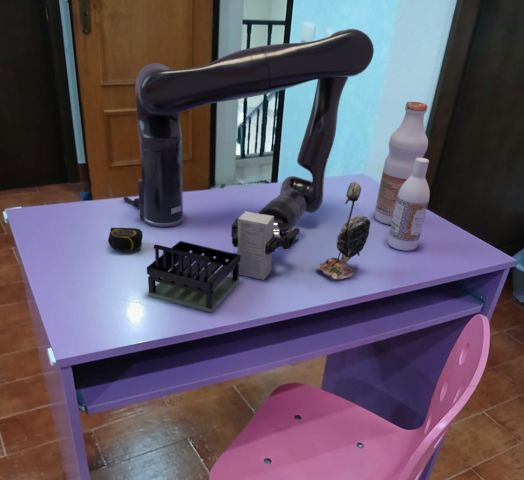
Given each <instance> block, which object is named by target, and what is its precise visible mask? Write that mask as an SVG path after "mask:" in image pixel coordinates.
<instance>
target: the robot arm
mask: <svg viewBox="0 0 524 480" xmlns="http://www.w3.org/2000/svg"><path fill="white" fill-rule="evenodd" d="M374 49H375V48H374V44H373V41H372V39H371V38H370V37H369V35H368V34H366V33H365V32H364V31H362V30H360V29H356V28H347V29H343V30H339V31H336V32H333V33H332V34H331V35H330V36H328V37H324V38H320V39H316V40H312V41H307V42H290V43H289V42H287V43H277V44H267V45H260V46H254V47H250V48H245V49H241V50H236V51H233V52H231V53H229V54H226V55H223V56H222V57H220V58H218V59H216V60H214V61H211V62H210V63H207V64H204V65H201V66H195V67H188V68H187V67H186V68H177V69H171V68H170V67H168V66H166V65H165V64H162V63H156V62H154V63H149V64H147V65H145V66H144V67H142V68H141V69H140V70H139V72H138V73H137V76H136V77H135V78H136V79H135V89H134V90H135V107H136V119H137V120H136V122H137V131H138V140H139V153H140V154H139V155H140V172H141V173H140V174H141V178H139V179H138V181H137V186H138V189H137V190H138V198H137V197H136V198H134V199H133V200H132V199H131V198H129V197H127V196H124V197H123V201H125V202H127V203H128V204H130V205H132V206H134V207H137V210H139V220H141V221H143V222H144V223H146V224H148V225H150V226H153V227H159V228H168V227H175V226H178V225H180V224H182V223H183V222H184V198H183V197H184V196H183V194H184V193H183V192H184V190H183V188H184V185H183V134H182V129H181V121H180V114H181V113H184V112H187V111H190V110H193V109H195V108H199V107H202V106H206V105H211V104H216V103H222V102H224V103H225V102H230V101H237V100H240V99H247V98H254V97H258V96H262V95H267V94H271V93H275V92H279V91H284V90H287V89H290V88H293V87H296V86H299V85H302V84H305V83H308V82H311V81H315V80H317V83H316V88H315V93H314V98H313V103H312V107H311V110H310V115H309V117H308V118H309V119H308V121H307V126H306V128H305V132H304V136H303V139H302V141H301V145H300V147H299V152H298V155H297V159H296V163H297V164H298V166H300V167H301V168H303V169H305V170H306V171H308V172H309V173H310V175H311V177H312V181H311V180H308V179H305V178H303V177H302V178H301V177H299V176H296V175H291V176H287V177H286V178H284V180H283V182H282V184H281V186H280V190H279V191H280V192H279V195H278V196H276V197H275V198H273V199H271V200H270V201H269V202H268V203H267V204H265V206H264V207H263V208H261V209H260V210H259V212H258V213H259V214H264V215H270V216H274V226H273V237H272V238H271V239H270V240H269V241H268V243H267V244H266V248H265V254H268V255H269V254H270V253H272V254H273V253H274V252H276V250H278V249H280V248H282V249H283V250H286V251H287V250H290V248H292V247H293V246H295V244H297V243H298V242H299V240H300V232H301V229H300V228H299V227H295V226H296V225H297V223H298V222H299V220H300V219H301V218H302V217H303V216H304V214H305V212H306V213H308V214H313V213H315V212H317V211H319V209H320V208H321V206H322V204H323V202H324V193H325V192H324V189H325V188H324V187H325V177H326V176H325V175H326V170H327V169H326V168H327V164H328V160H329V159H330V156H331V152H332V149H333V145H334V142H335V138H336V132H337V124H338V113H339V105H340V102H341V101H340V100H341V97H342V93H343V91H344V88H345V86H346V84H347V81H348V79H349V78H352V77H355V76H358V75H360V74H361V73H363V72H365V70H366V69H367V68H368V67H369V66H370V64H371V63H372V60H373V58H374V51H375V50H374ZM240 216H241V215H239V216H237V218H236V219H235V220H234V221H233V223H232V224H231V234H230V236H231V244H232V247H235V248H237V245H238V218H239V217H240Z"/></svg>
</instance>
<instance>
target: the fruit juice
mask: <svg viewBox="0 0 524 480" xmlns="http://www.w3.org/2000/svg"><path fill="white" fill-rule="evenodd" d="M404 111H405V114H404V117H403V119H402V122H401V124H400V125H399V126H398V128H397V129H395V130H394V131H393V133H392V134H391V135H390V138H389V141H388V154H387V157H386V158H385V161H384V164H383V168H382V173H381V178H380V183H379V188H378V192H377V199H376V202H375V203H376V204H375V209H374V218H375V220H376V221H378V222H379V223H381V224H384V225H389V226H391V223H392V219H393V214H394V210H395V205H396V201H397V196H398V193H399V190H400V188H401V186H402V185H403V184H404V182H405V181H406V180H407V179H408V178H409V177H410V176H411V175H412V172H413V167H414V163H415V159H416V158H424V157H425V154H426V153H427V151H428V147H429V139H428V136H427V134H426V131H425V125H424V119H425V118H424V117H425V114H426V113H427V111H428V105H427V104H426V103H425V102H420V101H407V102H406V104H405V107H404Z"/></svg>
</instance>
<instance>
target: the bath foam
mask: <svg viewBox="0 0 524 480" xmlns="http://www.w3.org/2000/svg"><path fill="white" fill-rule="evenodd" d="M429 163H430V160H429V159H428V158H425V157H423V158H416V159H415V163H414V167H413V172H412V175H411V176H410V177H409V178H408V179H407V180H406V181H405V182H404V184H403V185H402V186H401V188H400V190H399V193H398V196H397V201H396V205H395V210H394V214H393V219H392V223H391V225H390V230H389V232H388V233H389V234H388V238H387V244H388V245H389V246H390V247H391V248H393V249H396V250H398V251H404V252H409V251H414V250H416V249H417V247H418V245H419V241H420V238H421V233H422V229H423V225H424V221H425V218H426V214H427V211H428V206H429V203H430V196H431V192H430V187H429V184H428V181H427V179H426V175H427V171H428V167H429Z"/></svg>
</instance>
